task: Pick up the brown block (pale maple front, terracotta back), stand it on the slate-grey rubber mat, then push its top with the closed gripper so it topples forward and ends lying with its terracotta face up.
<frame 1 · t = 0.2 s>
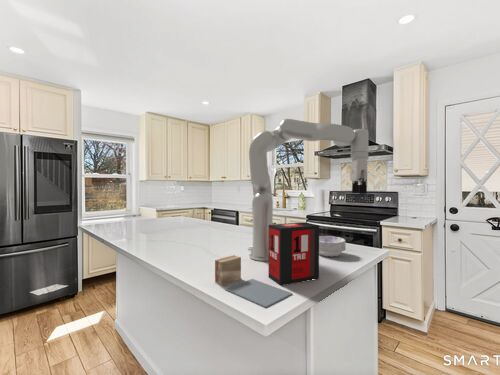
hand: (359, 193, 122), 31 cm above the countertop, tool pointing down, fingers open, 9 cm apart
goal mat: (258, 292, 86), on the countertop
paper bowls: (329, 254, 132), on the countertop
brown block: (228, 280, 97), on the countertop
cleaning product box: (293, 278, 99), on the countertop
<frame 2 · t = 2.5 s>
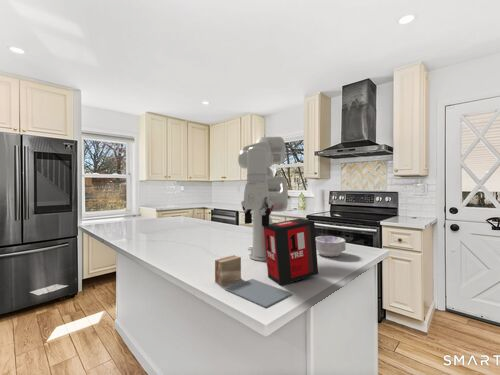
hand: (256, 224, 100), 20 cm above the countertop, tool pointing down, fingers open, 9 cm apart
cleaning product box: (293, 276, 99), point 1 cm above the countertop, touching gripper
everything else where it was.
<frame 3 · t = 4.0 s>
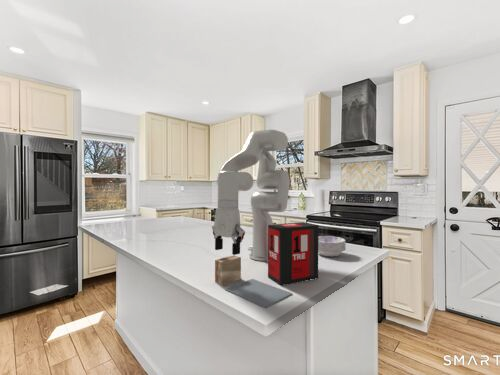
hand: (227, 251, 96), 11 cm above the countertop, tool pointing down, fingers open, 9 cm apart
cleaning product box: (292, 278, 99), on the countertop
everything else where it was.
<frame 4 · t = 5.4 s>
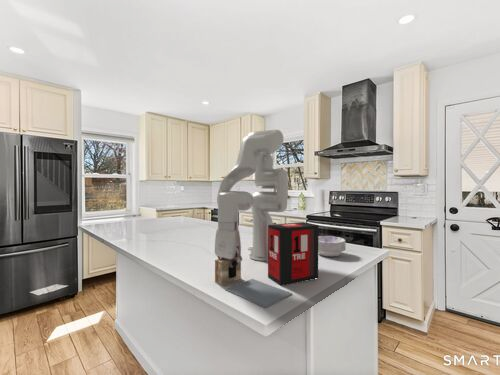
hand: (228, 275, 97), 2 cm above the countertop, tool pointing down, fingers closed on brown block, 4 cm apart
brown block: (228, 280, 97), on the countertop, touching gripper
everything else where it was.
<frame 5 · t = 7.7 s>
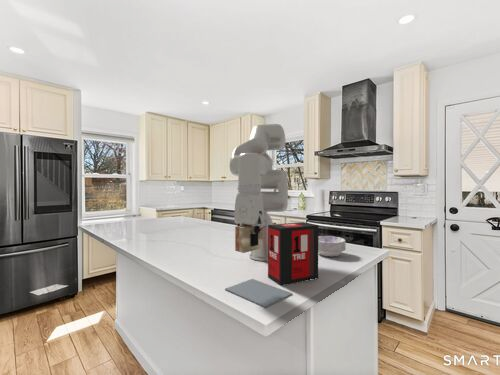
hand: (249, 243, 89), 15 cm above the countertop, tool pointing down, fingers closed on brown block, 4 cm apart
brown block: (249, 249, 89), point 13 cm above the countertop, touching gripper
everything else where it was.
when the fingers open (3 cm above the countertop, at t = 10.2 s): brown block stays where it is, resting on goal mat.
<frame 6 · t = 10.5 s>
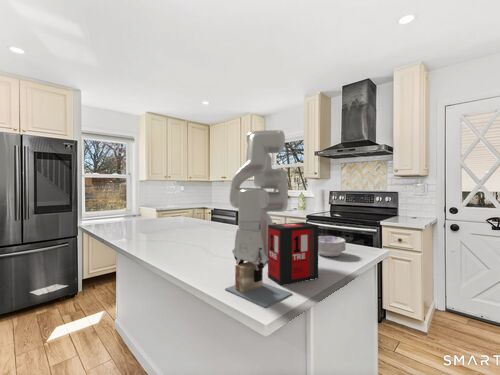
hand: (249, 277, 89), 4 cm above the countertop, tool pointing down, fingers open, 7 cm apart
brown block: (249, 287, 89), resting on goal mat
everything else where it was.
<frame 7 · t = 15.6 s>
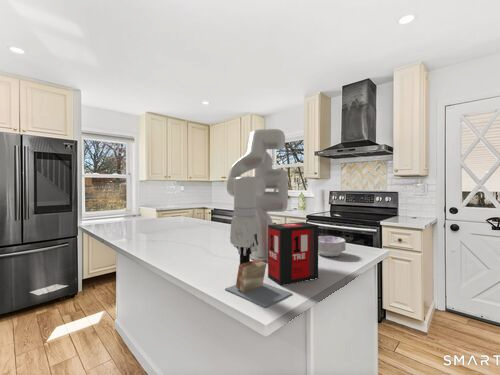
hand: (244, 265, 90), 7 cm above the countertop, tool pointing down, fingers closed
brown block: (249, 286, 89), point 1 cm above the countertop, tilted 12°, touching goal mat
everything else where it was.
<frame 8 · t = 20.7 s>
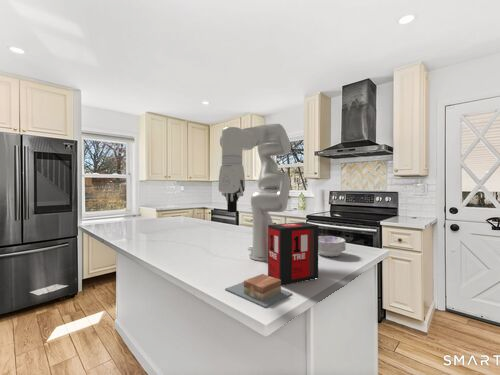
hand: (232, 211, 96), 25 cm above the countertop, tool pointing down, fingers closed
brown block: (253, 283, 88), point 2 cm above the countertop, tilted 90°, touching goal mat
everything else where it was.
at the end: brown block tilted 90°; brown block touching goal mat; brown block 2.1 cm from the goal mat (horizontally) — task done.
